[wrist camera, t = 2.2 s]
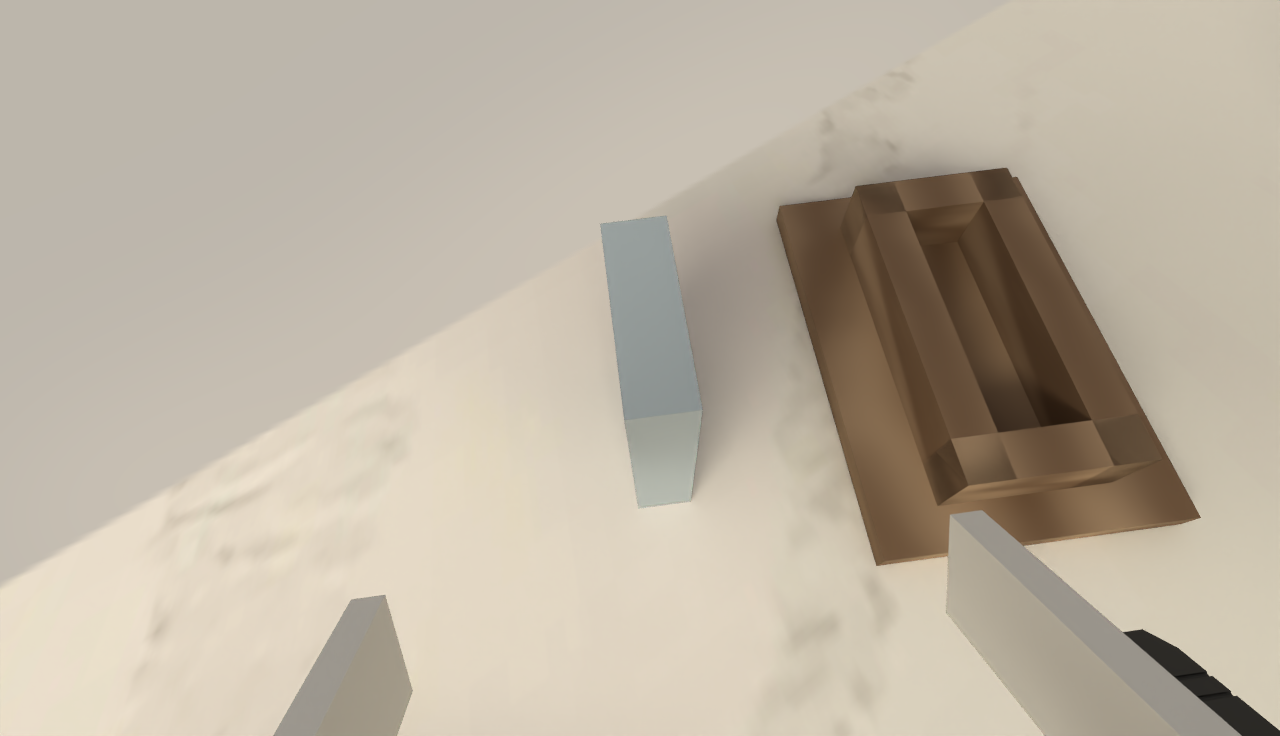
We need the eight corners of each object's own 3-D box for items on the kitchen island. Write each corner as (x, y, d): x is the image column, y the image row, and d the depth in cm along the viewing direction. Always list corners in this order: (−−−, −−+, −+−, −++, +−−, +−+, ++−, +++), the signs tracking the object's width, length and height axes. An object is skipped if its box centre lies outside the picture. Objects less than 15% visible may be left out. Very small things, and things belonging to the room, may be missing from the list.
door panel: (666, 354, 33) (666, 215, 23) (690, 501, 30) (702, 409, 20) (620, 360, 33) (600, 223, 23) (638, 508, 29) (624, 420, 20)
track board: (1007, 191, 37) (1047, 133, 33) (1180, 523, 28) (1263, 498, 24) (776, 219, 37) (789, 164, 33) (876, 565, 28) (911, 546, 24)
